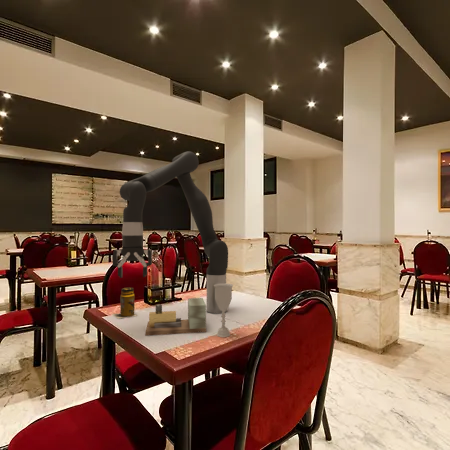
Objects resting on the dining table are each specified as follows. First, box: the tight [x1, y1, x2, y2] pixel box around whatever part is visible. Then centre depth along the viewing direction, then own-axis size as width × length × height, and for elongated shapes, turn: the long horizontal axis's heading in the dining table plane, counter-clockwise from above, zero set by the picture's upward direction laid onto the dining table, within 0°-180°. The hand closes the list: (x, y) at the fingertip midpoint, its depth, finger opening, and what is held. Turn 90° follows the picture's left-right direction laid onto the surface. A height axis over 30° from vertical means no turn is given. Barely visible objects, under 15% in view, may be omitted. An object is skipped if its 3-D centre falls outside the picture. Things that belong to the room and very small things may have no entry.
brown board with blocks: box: [144, 297, 207, 337], centre depth 119 cm, size 22×12×10 cm, turn 100°
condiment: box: [113, 287, 138, 320], centre depth 137 cm, size 7×8×12 cm
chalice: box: [214, 283, 234, 338], centre depth 112 cm, size 7×7×18 cm
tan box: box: [148, 303, 177, 327], centre depth 118 cm, size 10×3×8 cm, turn 100°
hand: (132, 277), depth 117 cm, fingers open, 8 cm apart
